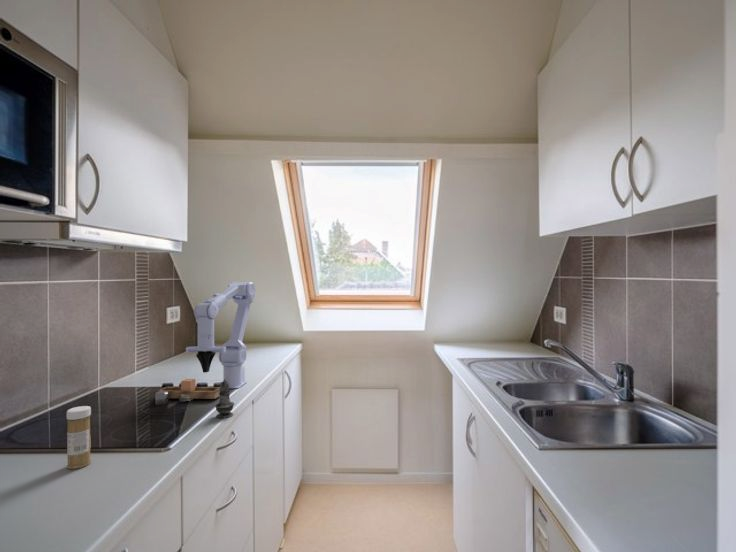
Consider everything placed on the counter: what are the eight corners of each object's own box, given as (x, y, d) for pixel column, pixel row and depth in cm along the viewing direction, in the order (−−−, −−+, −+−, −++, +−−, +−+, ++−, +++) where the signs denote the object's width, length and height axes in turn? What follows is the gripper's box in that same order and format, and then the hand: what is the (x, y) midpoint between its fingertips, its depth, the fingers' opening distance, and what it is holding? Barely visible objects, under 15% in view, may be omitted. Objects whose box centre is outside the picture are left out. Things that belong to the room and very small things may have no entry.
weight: (159, 401, 137) (159, 390, 137) (170, 402, 136) (170, 390, 136) (152, 405, 133) (152, 394, 133) (163, 405, 132) (163, 394, 132)
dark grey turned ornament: (237, 412, 124) (237, 376, 125) (229, 419, 119) (229, 380, 119) (220, 412, 125) (220, 376, 125) (211, 418, 119) (211, 380, 119)
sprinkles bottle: (92, 459, 92) (92, 404, 92) (88, 467, 88) (88, 409, 88) (69, 463, 90) (69, 407, 90) (63, 472, 86) (64, 412, 86)
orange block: (181, 392, 139) (181, 381, 139) (186, 389, 142) (186, 378, 142) (190, 392, 138) (190, 381, 138) (195, 389, 142) (195, 378, 142)
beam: (155, 401, 137) (155, 391, 137) (166, 395, 144) (166, 386, 144) (214, 401, 136) (214, 392, 136) (222, 396, 143) (222, 386, 143)
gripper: (181, 336, 137) (181, 374, 137) (219, 336, 136) (220, 374, 136) (191, 334, 144) (191, 369, 144) (228, 334, 143) (228, 370, 143)
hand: (206, 371), depth 140 cm, fingers closed
